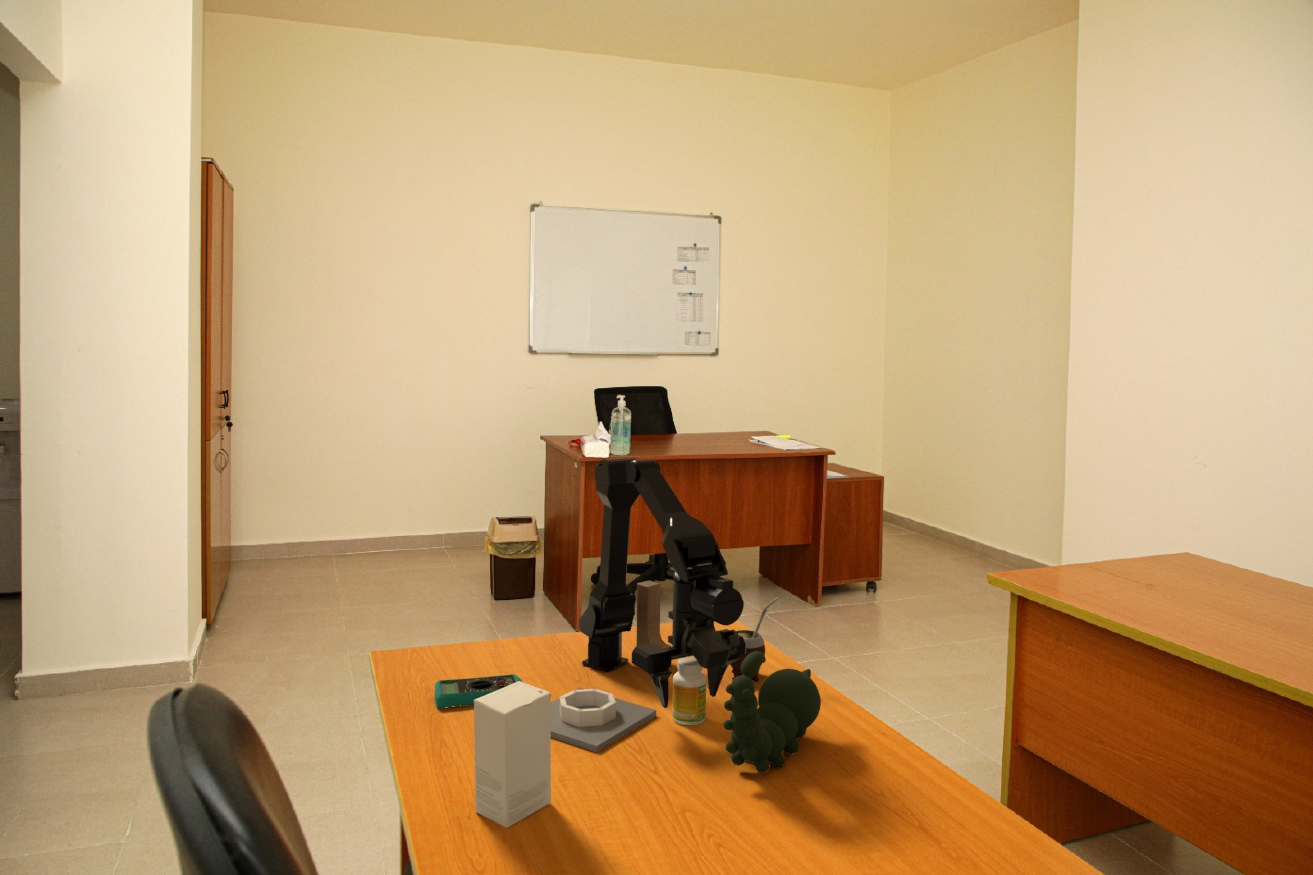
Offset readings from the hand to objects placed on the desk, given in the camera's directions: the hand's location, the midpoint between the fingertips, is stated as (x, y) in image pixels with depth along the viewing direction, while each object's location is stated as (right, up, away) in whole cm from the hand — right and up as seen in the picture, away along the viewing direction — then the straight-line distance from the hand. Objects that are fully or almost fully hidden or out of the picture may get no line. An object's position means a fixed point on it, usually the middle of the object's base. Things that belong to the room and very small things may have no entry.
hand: (689, 701), depth 147 cm
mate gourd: (+11, -1, +19) cm, 22 cm away
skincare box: (-24, -6, -28) cm, 37 cm away
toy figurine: (+12, -5, -11) cm, 17 cm away
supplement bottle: (0, -3, 0) cm, 3 cm away
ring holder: (-16, -3, -1) cm, 17 cm away
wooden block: (-6, 0, +26) cm, 26 cm away
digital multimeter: (-36, -2, +8) cm, 37 cm away
